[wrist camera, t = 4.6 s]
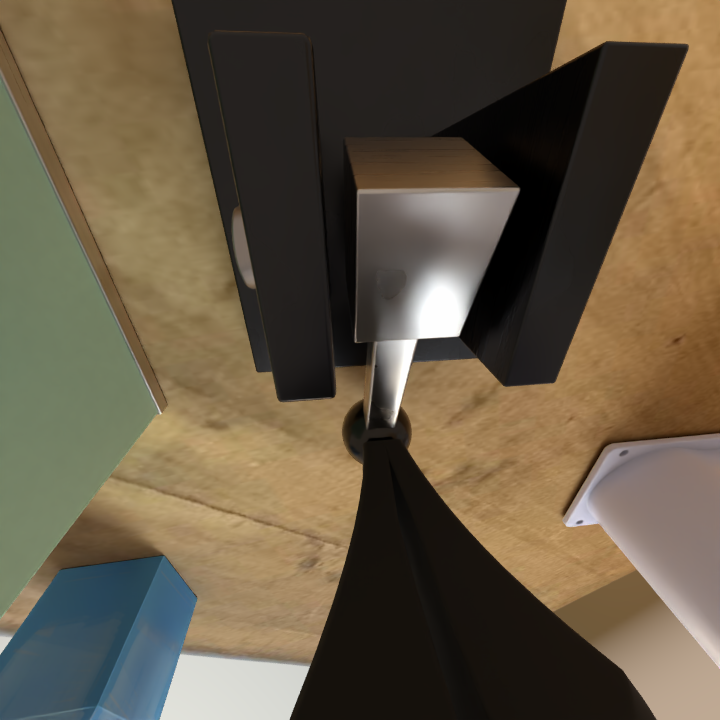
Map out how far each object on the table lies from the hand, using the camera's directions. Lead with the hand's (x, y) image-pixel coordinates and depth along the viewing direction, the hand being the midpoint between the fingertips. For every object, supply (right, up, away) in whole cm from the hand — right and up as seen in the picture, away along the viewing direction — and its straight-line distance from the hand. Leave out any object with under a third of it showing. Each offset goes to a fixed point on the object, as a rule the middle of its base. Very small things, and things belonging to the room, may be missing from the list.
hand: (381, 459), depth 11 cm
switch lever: (0, +4, -1) cm, 5 cm away
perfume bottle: (-16, -12, +9) cm, 22 cm away
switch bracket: (0, +8, -1) cm, 8 cm away
